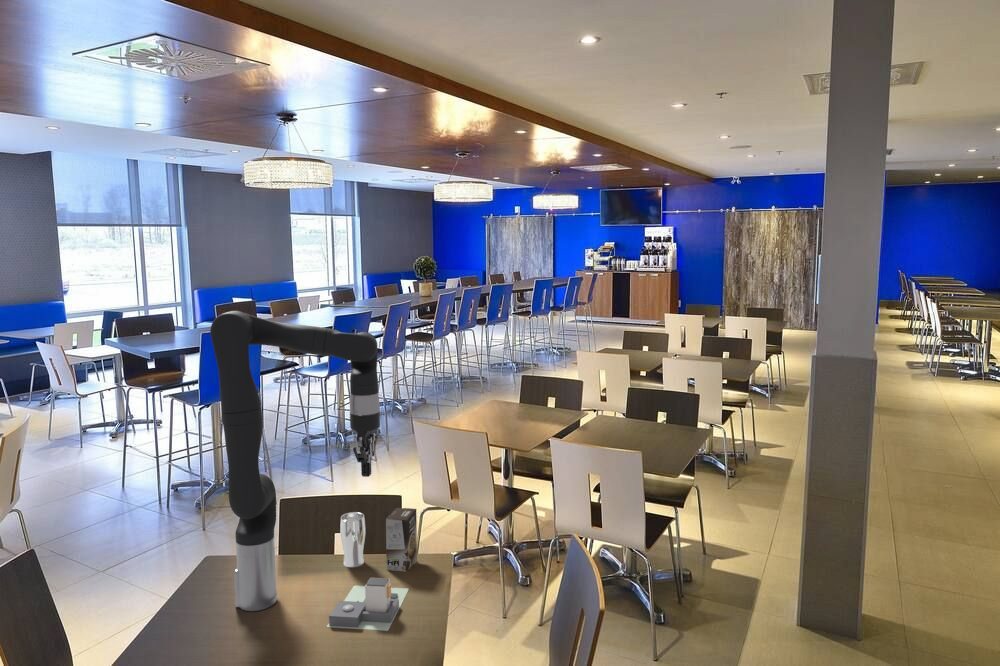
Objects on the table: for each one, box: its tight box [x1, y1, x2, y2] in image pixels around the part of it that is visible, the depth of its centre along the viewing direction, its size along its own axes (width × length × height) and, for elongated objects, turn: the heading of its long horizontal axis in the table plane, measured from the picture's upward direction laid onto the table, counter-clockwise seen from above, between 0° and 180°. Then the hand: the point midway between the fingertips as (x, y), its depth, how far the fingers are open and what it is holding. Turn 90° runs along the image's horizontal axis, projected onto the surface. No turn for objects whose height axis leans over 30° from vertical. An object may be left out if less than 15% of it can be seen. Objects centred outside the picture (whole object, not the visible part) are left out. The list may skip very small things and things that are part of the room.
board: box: [326, 585, 410, 632], centre depth 166 cm, size 15×20×3 cm
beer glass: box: [339, 511, 366, 568], centre depth 190 cm, size 7×7×15 cm
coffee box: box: [385, 507, 418, 573], centre depth 189 cm, size 9×6×16 cm
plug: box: [364, 577, 392, 613], centre depth 163 cm, size 6×4×8 cm
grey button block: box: [328, 600, 366, 628], centre depth 163 cm, size 7×11×3 cm, turn 174°
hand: (366, 475), depth 172 cm, fingers closed
